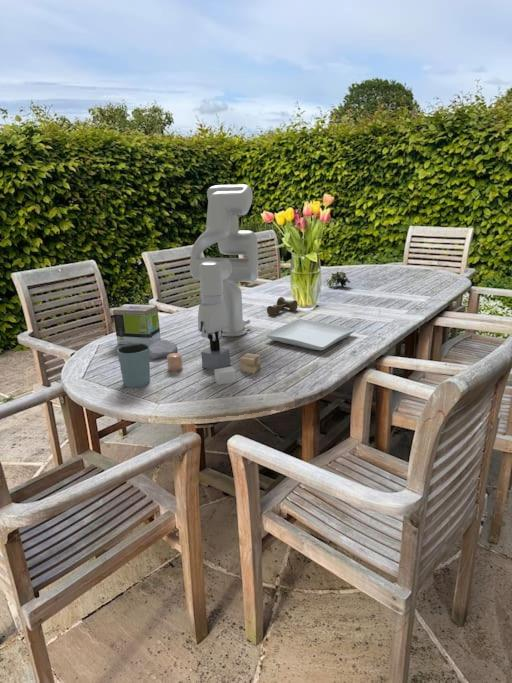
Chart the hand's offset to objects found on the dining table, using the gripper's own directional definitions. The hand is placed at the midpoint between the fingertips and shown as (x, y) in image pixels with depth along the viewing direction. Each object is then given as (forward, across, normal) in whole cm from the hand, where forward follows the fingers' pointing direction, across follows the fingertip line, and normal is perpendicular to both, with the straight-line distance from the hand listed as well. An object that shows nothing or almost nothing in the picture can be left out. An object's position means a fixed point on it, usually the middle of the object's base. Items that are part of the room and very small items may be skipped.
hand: (215, 350), depth 161 cm
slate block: (+6, 0, 0) cm, 6 cm away
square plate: (+6, -44, +9) cm, 45 cm away
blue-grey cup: (+6, +26, -10) cm, 28 cm away
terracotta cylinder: (+6, +11, -9) cm, 15 cm away
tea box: (+6, +2, -44) cm, 45 cm away
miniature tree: (+6, -129, -33) cm, 133 cm away
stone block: (+6, +5, -25) cm, 26 cm away
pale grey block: (+6, +7, +12) cm, 15 cm away
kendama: (+6, -69, -26) cm, 74 cm away
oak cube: (+6, -5, +12) cm, 14 cm away
